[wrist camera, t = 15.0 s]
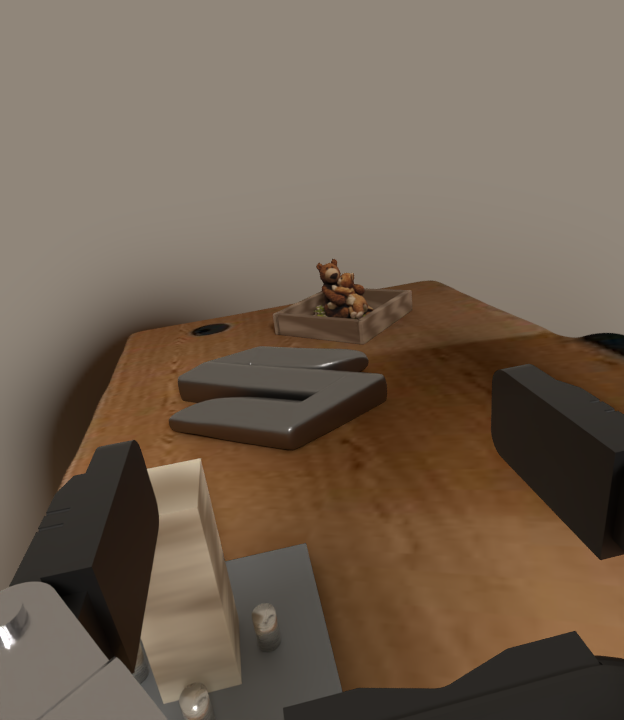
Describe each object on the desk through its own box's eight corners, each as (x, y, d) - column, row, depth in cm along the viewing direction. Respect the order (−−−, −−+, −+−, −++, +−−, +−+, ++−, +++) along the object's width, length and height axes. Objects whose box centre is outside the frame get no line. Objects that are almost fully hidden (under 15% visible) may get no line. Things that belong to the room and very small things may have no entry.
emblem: (149, 436, 51) (181, 349, 77) (161, 479, 53) (188, 379, 79) (407, 394, 53) (354, 322, 79) (409, 436, 55) (357, 353, 81)
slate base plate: (106, 601, 38) (92, 564, 36) (307, 554, 40) (302, 518, 38) (35, 871, 23) (8, 827, 22) (361, 775, 25) (355, 729, 24)
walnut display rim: (331, 304, 110) (329, 287, 108) (412, 309, 99) (411, 290, 97) (275, 334, 95) (272, 314, 93) (363, 344, 84) (361, 322, 82)
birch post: (170, 636, 33) (120, 474, 28) (238, 619, 33) (200, 458, 29) (163, 704, 29) (102, 527, 24) (241, 684, 29) (197, 507, 24)
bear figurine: (324, 338, 90) (316, 272, 85) (305, 317, 103) (298, 260, 99) (393, 325, 92) (390, 260, 88) (366, 306, 106) (362, 250, 101)
